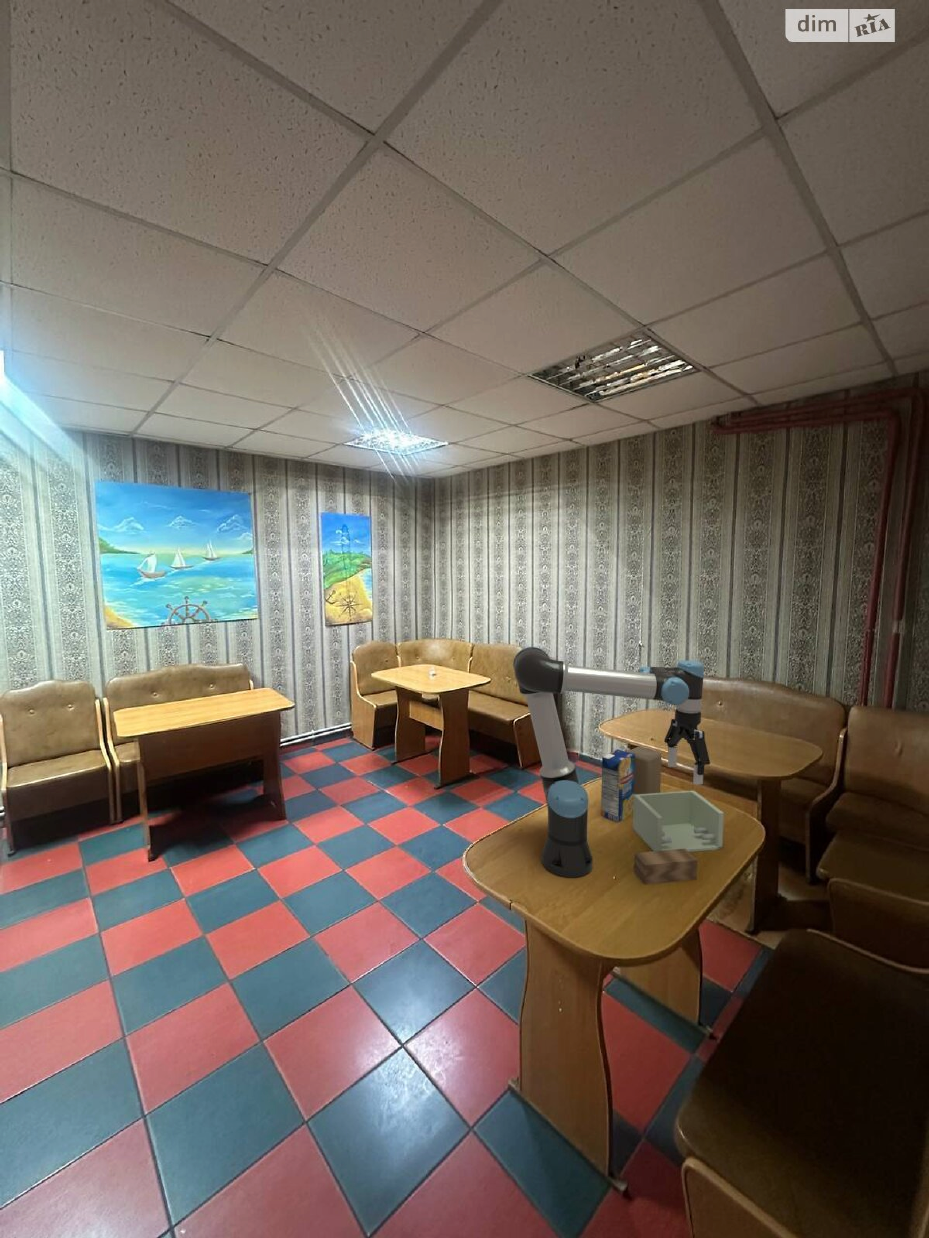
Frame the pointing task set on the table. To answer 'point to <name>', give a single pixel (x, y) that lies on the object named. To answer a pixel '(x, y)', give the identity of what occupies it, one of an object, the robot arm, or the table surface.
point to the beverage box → (617, 785)
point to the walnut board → (665, 866)
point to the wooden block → (646, 771)
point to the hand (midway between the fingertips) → (684, 774)
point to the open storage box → (678, 821)
